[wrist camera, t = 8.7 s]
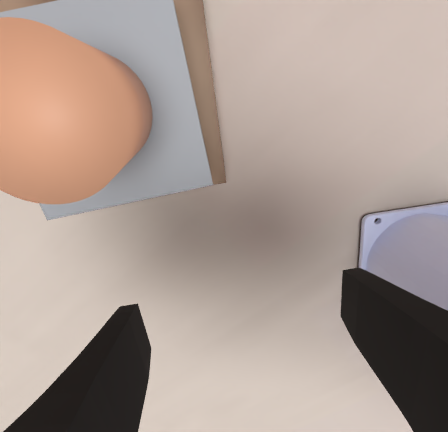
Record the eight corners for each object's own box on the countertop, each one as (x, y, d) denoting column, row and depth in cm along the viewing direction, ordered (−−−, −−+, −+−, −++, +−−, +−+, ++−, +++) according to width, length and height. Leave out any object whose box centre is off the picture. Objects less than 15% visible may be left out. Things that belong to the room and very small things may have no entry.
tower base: (198, -7, 15) (198, -32, 13) (222, 171, 19) (226, 182, 16) (14, 17, 15) (-28, -3, 12) (75, 192, 19) (54, 208, 16)
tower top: (174, 4, 13) (167, -23, 10) (210, 171, 16) (213, 184, 13) (5, 40, 13) (-48, 22, 10) (73, 200, 16) (47, 220, 13)
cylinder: (145, 49, 11) (111, 17, 6) (158, 161, 13) (139, 200, 8) (25, 50, 10) (-103, 16, 6) (56, 166, 12) (-25, 208, 8)
